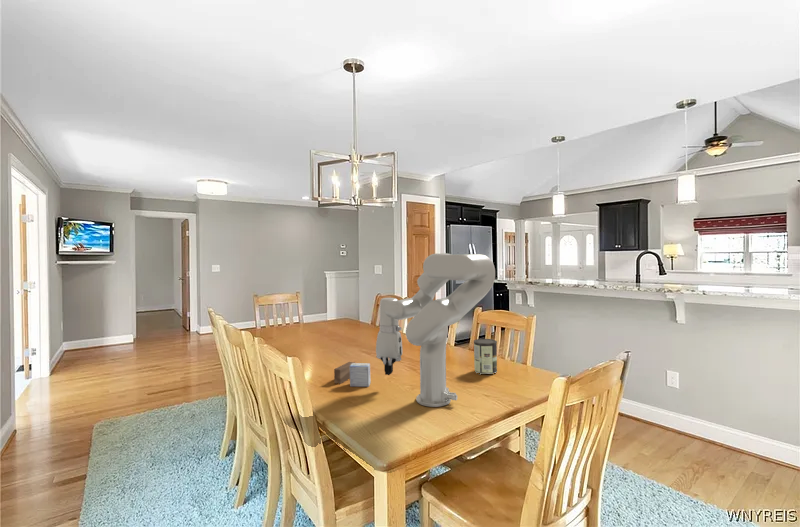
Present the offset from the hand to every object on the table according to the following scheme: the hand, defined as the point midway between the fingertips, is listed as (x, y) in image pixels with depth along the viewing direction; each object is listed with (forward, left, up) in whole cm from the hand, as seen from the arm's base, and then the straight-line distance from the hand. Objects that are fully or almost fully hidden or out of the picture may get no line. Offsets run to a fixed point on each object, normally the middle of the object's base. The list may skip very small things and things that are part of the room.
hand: (388, 373), depth 158 cm
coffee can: (-31, -37, -6) cm, 48 cm away
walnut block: (+23, -4, -6) cm, 24 cm away
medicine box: (+13, 0, -6) cm, 15 cm away
